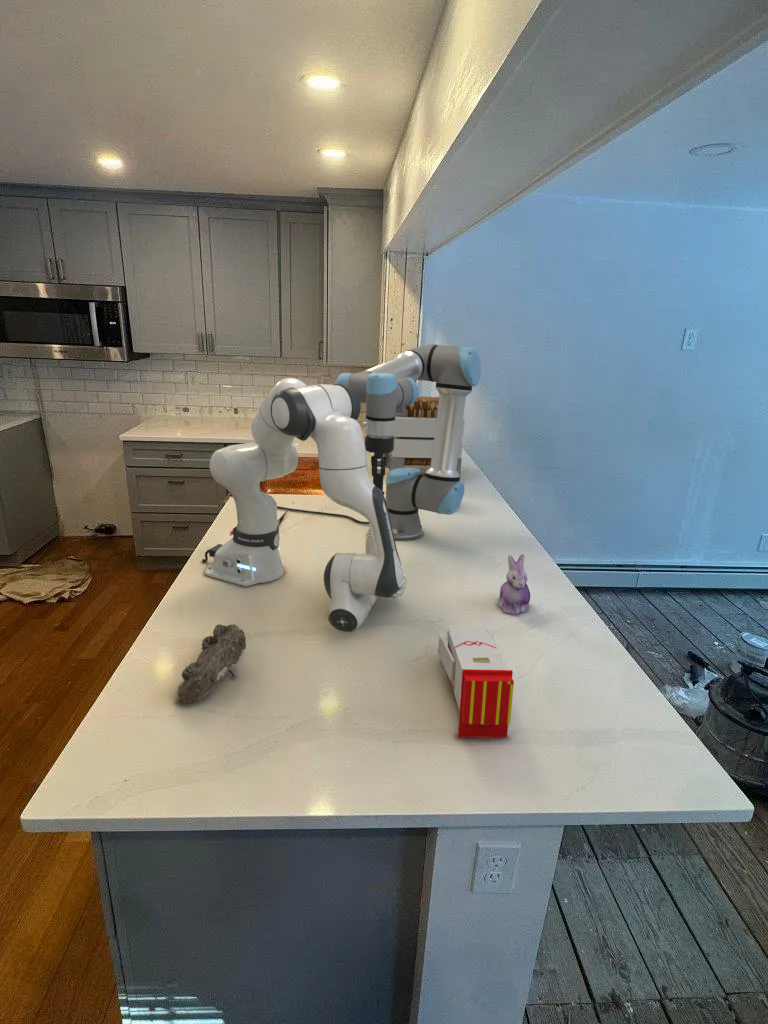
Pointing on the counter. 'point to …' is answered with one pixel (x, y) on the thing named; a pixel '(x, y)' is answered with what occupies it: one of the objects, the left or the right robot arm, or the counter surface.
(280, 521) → the feather
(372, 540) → the bottle
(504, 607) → the figurine
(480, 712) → the toy
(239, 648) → the fossil
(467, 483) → the counter surface
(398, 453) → the grey slatted crate
